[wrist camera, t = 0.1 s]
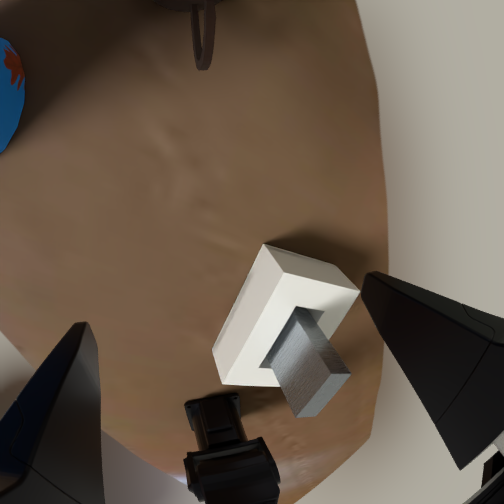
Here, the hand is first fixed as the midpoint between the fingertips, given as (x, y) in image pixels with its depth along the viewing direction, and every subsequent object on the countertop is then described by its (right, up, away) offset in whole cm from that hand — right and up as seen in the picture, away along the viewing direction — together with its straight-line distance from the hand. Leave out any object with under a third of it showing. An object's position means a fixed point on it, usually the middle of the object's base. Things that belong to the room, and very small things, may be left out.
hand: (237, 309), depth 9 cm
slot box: (+2, -4, +21) cm, 21 cm away
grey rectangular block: (+3, -4, +20) cm, 20 cm away
